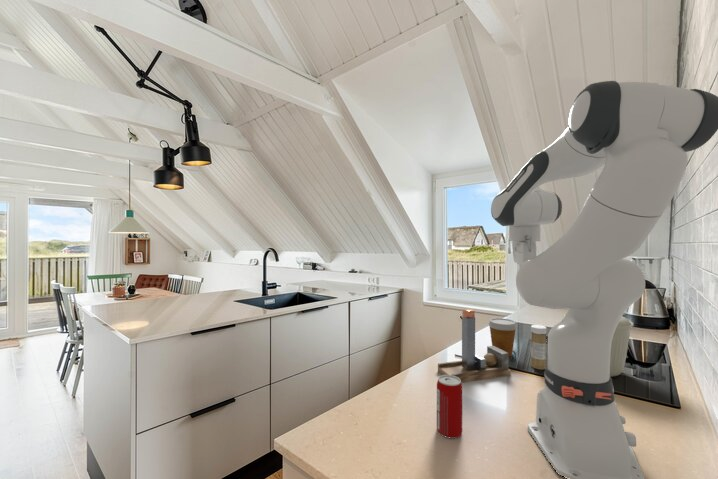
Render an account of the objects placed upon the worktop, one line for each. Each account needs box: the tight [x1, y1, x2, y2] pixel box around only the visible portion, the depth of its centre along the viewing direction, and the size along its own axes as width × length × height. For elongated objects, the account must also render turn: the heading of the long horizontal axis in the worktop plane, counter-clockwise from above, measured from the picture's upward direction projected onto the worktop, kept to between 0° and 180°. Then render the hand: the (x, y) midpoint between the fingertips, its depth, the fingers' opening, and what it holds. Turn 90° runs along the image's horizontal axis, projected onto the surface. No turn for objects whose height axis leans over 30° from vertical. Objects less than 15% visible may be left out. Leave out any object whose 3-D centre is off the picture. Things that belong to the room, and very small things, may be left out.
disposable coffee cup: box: [488, 317, 518, 358], centre depth 119 cm, size 10×10×12 cm
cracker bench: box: [437, 345, 512, 383], centre depth 103 cm, size 20×9×6 cm, turn 106°
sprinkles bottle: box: [530, 324, 548, 370], centre depth 108 cm, size 5×5×14 cm
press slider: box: [461, 308, 486, 370], centre depth 103 cm, size 6×6×18 cm
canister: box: [562, 313, 635, 378], centre depth 105 cm, size 18×18×21 cm
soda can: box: [436, 374, 463, 439], centre depth 73 cm, size 6×6×12 cm
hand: (524, 279), depth 105 cm, fingers closed
